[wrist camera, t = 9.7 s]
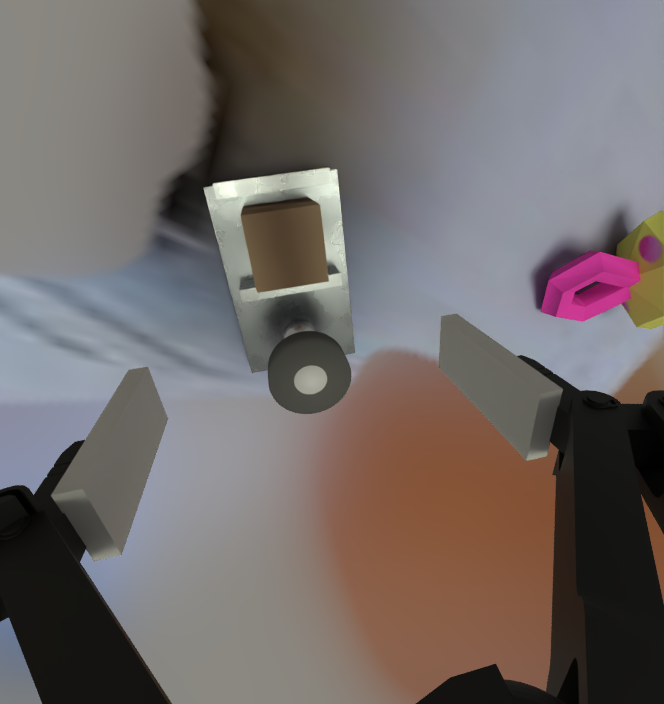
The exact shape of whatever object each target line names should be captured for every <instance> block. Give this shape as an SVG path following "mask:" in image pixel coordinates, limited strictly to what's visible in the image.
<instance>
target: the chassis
mask: <svg viewBox="0 0 664 704" xmlns="http://www.w3.org/2000/svg"><path fill="white" fill-rule="evenodd" d="M203 189H204V192H205V196H206V200H207V204H208V208H209V211H210V215H211V219H212V223H213V227H214V230H215V234H216V238H217V242H218V246H219V249H220V253H221V257H222V261H223V265H224V268H225V272H226V276H227V280H228V284H229V288H230V291H231V295H232V299H233V303H234V307H235V310H236V314H237V318H238V322H239V326H240V329H241V333H242V337H243V341H244V345H245V348H246V352H247V356H248V360H249V364H250V367H251V371H252V373H254V372H259V371H264V370H268V361H269V357H270V355H271V353H272V351H273V349H274V348H275V347H276V345H277V344H278V343H279V342H280V341H282V340H283V339H284V338H286V337H288V336H289V335H292V334H294V333H297V332H301V331H317V332H321V333H324V334H327V335H328V336H330V337H332V338H333V339H334V340H336V341H337V342H338V344H339V345H340V346H341V348H342V350H343V352H344V354H345V355H346V354H351V353H355V347H354V337H353V327H352V316H351V306H350V296H349V286H348V276H347V266H346V256H345V246H344V236H343V225H342V215H341V205H340V195H339V185H338V175H337V169H330V168H329V167H322V168H315V169H307V170H300V171H293V172H286V173H278V174H271V175H264V176H256V177H249V178H242V179H235V180H227V181H220V182H215V183H213V185H212V186H206V187H204V188H203ZM305 197H309V198H311V199H312V200H314V201H315V202H317V203H319V204H320V207H321V216H322V224H323V233H324V242H325V251H326V259H327V268H328V277H329V282H322V283H316V284H310V285H304V286H298V287H291V288H285V289H279V290H273V291H267V292H260V293H257V291H256V286H255V282H254V277H253V272H252V268H251V263H250V259H249V254H248V249H247V245H246V240H245V235H244V231H243V226H242V221H241V217H240V215H241V212H242V208H243V206H245V205H253V204H260V203H268V202H275V201H282V200H290V199H297V198H305Z"/></svg>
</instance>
